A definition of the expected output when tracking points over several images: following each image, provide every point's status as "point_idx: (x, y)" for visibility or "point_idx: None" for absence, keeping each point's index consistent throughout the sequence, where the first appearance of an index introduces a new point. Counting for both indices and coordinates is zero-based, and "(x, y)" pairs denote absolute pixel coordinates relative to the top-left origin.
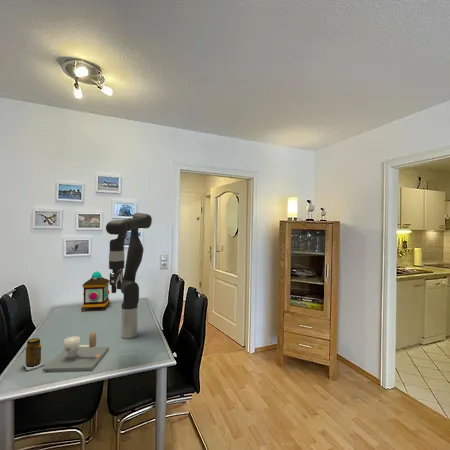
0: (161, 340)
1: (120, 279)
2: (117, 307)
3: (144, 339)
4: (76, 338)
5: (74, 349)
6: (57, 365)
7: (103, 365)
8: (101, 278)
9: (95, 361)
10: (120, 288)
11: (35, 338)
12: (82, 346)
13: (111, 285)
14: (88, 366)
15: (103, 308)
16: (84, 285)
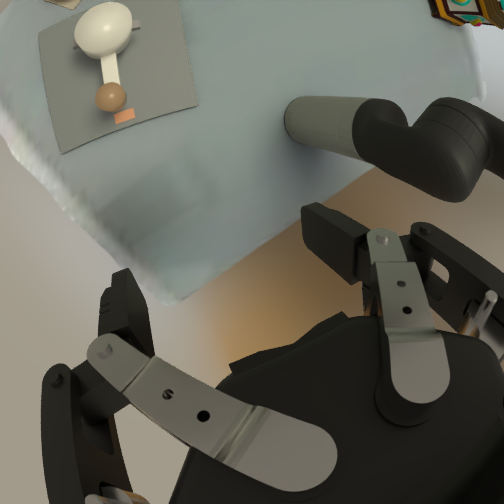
0: (280, 229)
1: (363, 315)
2: (448, 42)
3: (283, 178)
4: (107, 36)
5: (88, 55)
6: (56, 50)
7: (95, 160)
8: (502, 12)
9: (92, 134)
10: (306, 244)
11: None
12: (104, 69)
13: (100, 344)
14: (62, 139)
15: (435, 13)
16: None
